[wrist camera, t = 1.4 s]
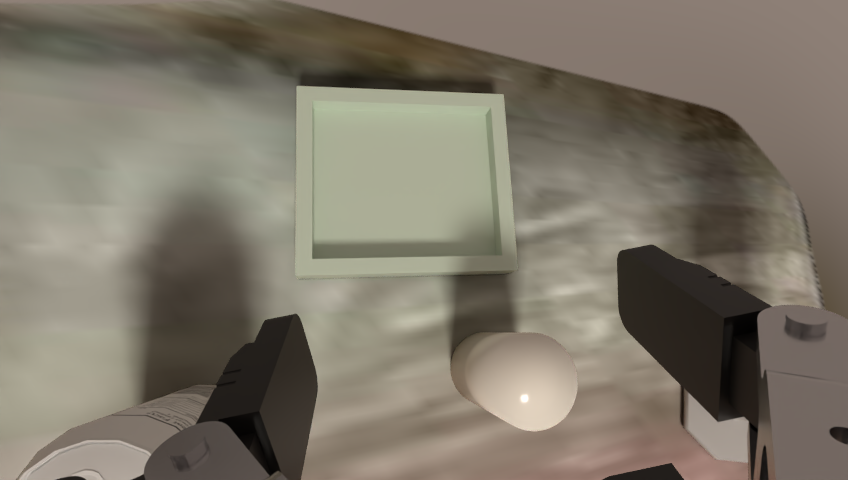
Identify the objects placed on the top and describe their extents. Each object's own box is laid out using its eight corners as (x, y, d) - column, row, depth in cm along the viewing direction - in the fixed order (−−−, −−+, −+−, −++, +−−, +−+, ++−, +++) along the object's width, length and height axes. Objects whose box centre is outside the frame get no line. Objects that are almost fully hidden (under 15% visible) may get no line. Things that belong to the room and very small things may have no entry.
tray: (298, 279, 36) (295, 275, 34) (299, 101, 39) (296, 85, 36) (507, 273, 39) (518, 270, 36) (494, 108, 42) (503, 94, 39)
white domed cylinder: (452, 407, 36) (490, 435, 26) (448, 333, 37) (484, 334, 27) (520, 402, 37) (582, 427, 27) (515, 330, 38) (572, 330, 28)
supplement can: (276, 479, 33) (221, 595, 19) (154, 525, 31) (-13, 693, 17) (247, 368, 34) (174, 395, 20) (128, 407, 32) (-49, 468, 18)
